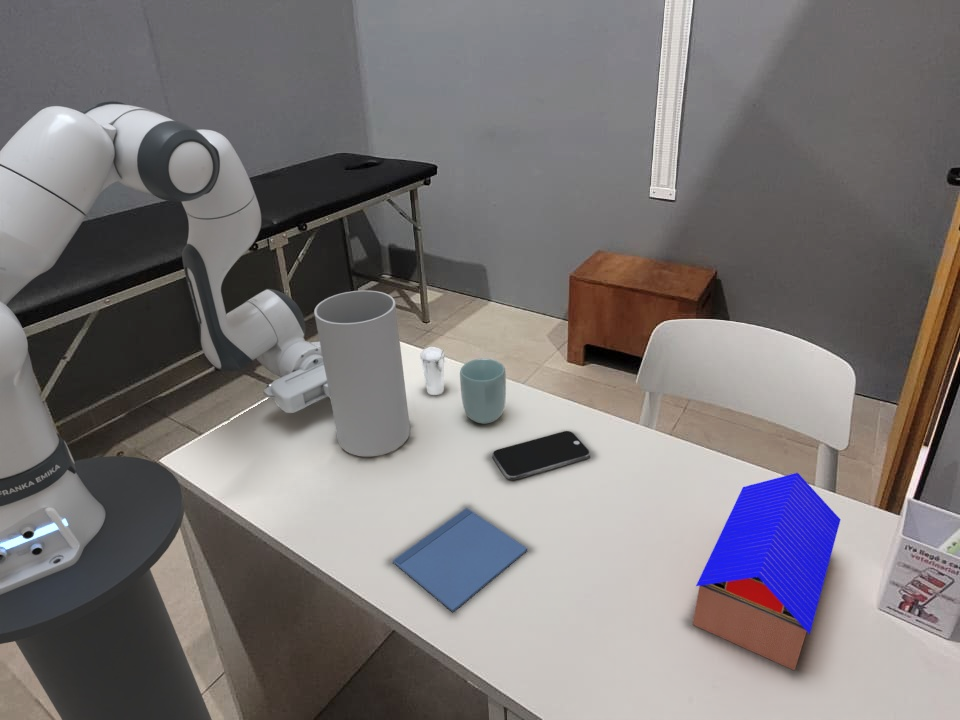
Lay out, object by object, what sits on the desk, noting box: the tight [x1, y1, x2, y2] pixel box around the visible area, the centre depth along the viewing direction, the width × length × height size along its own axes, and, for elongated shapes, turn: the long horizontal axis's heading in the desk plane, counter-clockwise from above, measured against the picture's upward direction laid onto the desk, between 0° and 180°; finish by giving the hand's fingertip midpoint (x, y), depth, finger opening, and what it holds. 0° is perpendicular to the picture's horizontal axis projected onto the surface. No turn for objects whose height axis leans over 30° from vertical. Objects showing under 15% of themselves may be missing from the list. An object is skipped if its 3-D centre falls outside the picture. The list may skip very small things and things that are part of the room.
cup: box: [459, 358, 507, 425], centre depth 115 cm, size 8×8×10 cm
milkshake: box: [419, 346, 445, 396], centre depth 123 cm, size 4×5×10 cm
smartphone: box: [491, 430, 591, 481], centre depth 106 cm, size 8×1×15 cm
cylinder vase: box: [313, 290, 411, 458], centre depth 107 cm, size 12×12×25 cm
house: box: [692, 472, 841, 671], centre depth 79 cm, size 12×20×12 cm, turn 146°
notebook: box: [392, 507, 528, 613], centre depth 88 cm, size 14×12×1 cm
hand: (351, 392), depth 114 cm, fingers closed, pressing on cylinder vase
